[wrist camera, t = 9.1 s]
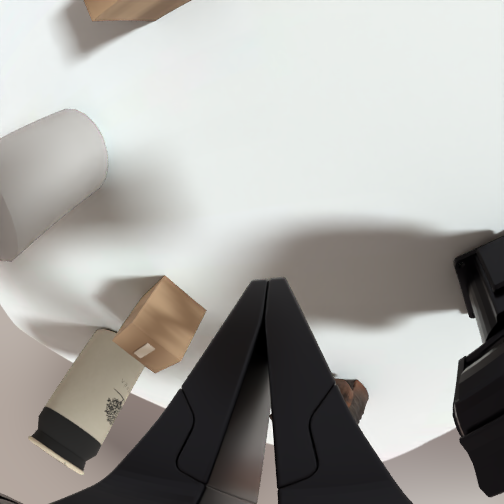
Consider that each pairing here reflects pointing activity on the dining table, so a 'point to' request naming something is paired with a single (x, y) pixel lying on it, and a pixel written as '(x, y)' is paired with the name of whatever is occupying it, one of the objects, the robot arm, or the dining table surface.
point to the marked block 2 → (160, 326)
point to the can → (46, 175)
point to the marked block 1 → (131, 9)
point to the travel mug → (87, 402)
